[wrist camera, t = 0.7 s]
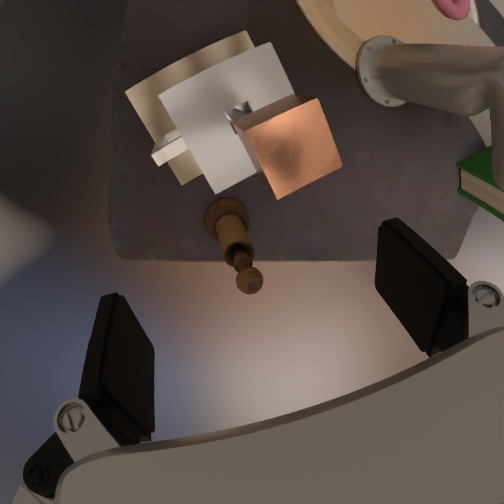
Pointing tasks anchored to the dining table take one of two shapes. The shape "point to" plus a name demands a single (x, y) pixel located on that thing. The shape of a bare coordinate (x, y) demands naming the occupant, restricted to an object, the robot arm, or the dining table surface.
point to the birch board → (151, 87)
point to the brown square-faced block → (286, 142)
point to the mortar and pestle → (234, 241)
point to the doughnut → (453, 8)
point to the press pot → (220, 113)
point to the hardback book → (481, 182)
